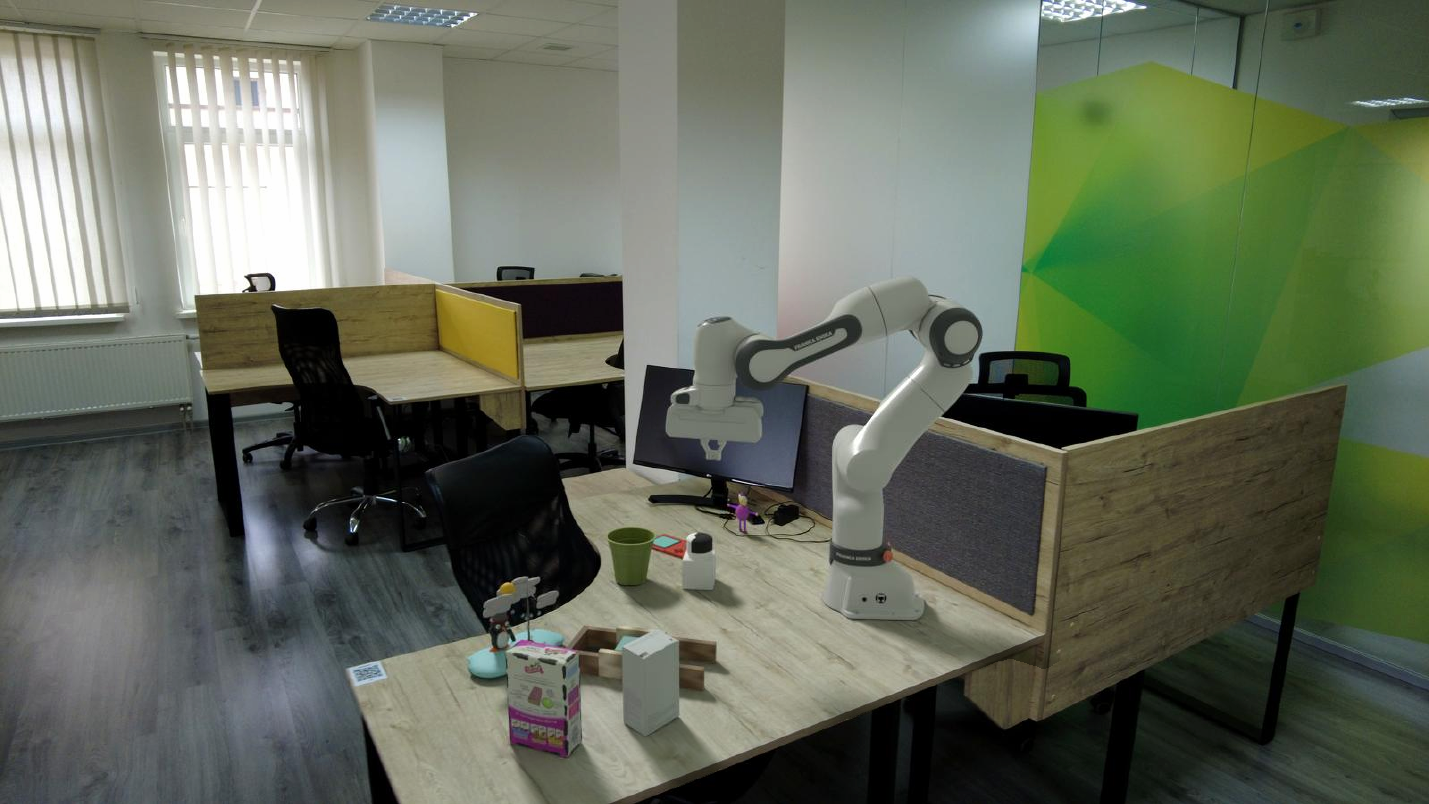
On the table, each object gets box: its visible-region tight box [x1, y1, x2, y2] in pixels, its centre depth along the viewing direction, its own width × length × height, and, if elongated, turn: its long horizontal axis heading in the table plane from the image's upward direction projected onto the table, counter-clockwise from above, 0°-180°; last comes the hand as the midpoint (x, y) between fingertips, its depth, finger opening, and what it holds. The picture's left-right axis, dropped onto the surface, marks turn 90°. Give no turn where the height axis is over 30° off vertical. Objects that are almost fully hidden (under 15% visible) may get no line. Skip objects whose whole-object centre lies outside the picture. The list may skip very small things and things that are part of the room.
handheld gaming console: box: [651, 533, 687, 560], centre depth 221 cm, size 9×1×15 cm
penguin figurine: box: [466, 576, 565, 679], centre depth 164 cm, size 20×11×15 cm, turn 135°
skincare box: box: [622, 628, 680, 737], centre depth 143 cm, size 8×6×15 cm
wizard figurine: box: [726, 490, 759, 534], centre depth 231 cm, size 11×3×12 cm, turn 45°
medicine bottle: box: [681, 532, 717, 591], centre depth 198 cm, size 7×7×12 cm
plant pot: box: [605, 526, 657, 586], centre depth 200 cm, size 12×12×11 cm
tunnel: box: [565, 624, 717, 691], centre depth 162 cm, size 27×11×5 cm, turn 77°
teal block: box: [615, 636, 638, 651], centre depth 162 cm, size 6×6×4 cm
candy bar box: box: [505, 640, 583, 758], centre depth 137 cm, size 11×5×16 cm, turn 69°
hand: (713, 459), depth 179 cm, fingers closed
